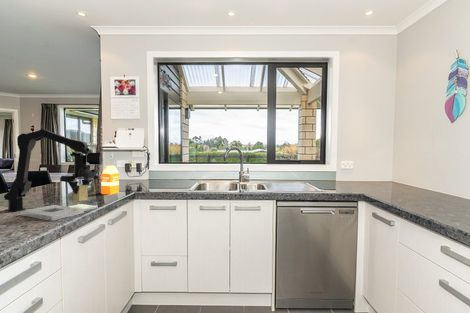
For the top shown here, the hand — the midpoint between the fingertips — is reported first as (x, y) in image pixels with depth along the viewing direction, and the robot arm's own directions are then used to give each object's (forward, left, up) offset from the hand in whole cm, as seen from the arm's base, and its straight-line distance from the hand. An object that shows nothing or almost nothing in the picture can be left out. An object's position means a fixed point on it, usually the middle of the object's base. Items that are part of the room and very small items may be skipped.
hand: (80, 193), depth 143 cm
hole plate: (-1, -14, -8) cm, 16 cm away
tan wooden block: (0, 0, -4) cm, 4 cm away
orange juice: (-24, +43, -9) cm, 50 cm away
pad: (0, 0, -8) cm, 8 cm away
